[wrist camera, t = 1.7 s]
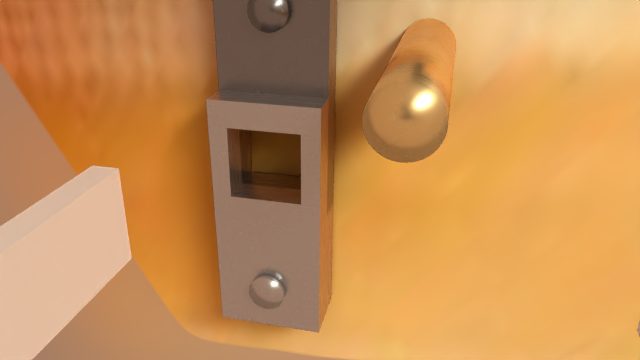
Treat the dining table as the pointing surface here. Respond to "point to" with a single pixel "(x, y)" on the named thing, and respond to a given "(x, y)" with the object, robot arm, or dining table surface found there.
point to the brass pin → (413, 95)
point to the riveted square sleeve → (264, 188)
